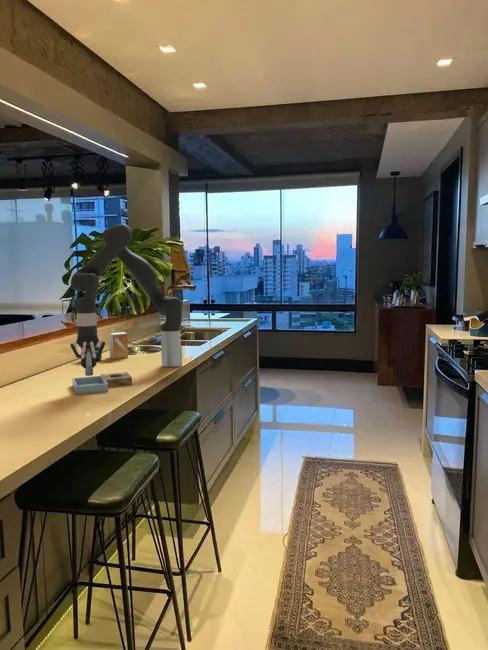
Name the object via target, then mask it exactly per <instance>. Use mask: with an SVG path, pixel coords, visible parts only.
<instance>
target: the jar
mask: <svg viewBox="0 0 488 650" xmlns="http://www.w3.org/2000/svg"><path fill="white" fill-rule="evenodd" d="M99 347H100V346H99V344H97V345H96V346H95V348H94V349H95V354H96V353H97V352H98V350H99ZM102 353H103V352H102ZM102 353H101V355H100V356H98V357H96V363H97V362H101V360H102V357H103V354H102ZM92 358H93V356H92Z"/></svg>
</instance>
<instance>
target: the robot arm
mask: <svg viewBox="0 0 488 650" xmlns="http://www.w3.org/2000/svg"><path fill="white" fill-rule="evenodd" d="M132 232H133V231H132V229H131V228H130V226H128V225H127V224H126V223H118V224H116V225H113V226H110V227H108V228H106V229H104V230H103V233H102V238H103V241H104V243H105V245H104V246H103V247H101V248H100V249H99V250H97V251H96V252H95V253H94V255H93V254H92V256H91V258H90V259H89V261H88V262H87V263H86V264H85V265H84V266H82V267H81V268H80V269H78V270H76V272H74V273H73V274H72V277H71V279H70V286H71V288H72V289H73V290H75V291H76V292H85V294H84V296H82V297H79V298H78V299H76V333H77V334H76V336H77V338H76V340H75V342H71V343H70V344H69V345H70V348H71V349H72V352H73V353H74V355H75V357H76V358H78V359H80V365H81V367H82V368H83V369H85V358H84V356H85V350H92V356H93V358H92V361H93V368H96V366H97V362H96V357H98V356H100V355H101V353H103V351H104V348H105V346H106V342H105V341H103V340H100V339H99V338H98V321H97V311H96V309H97V308H96V300H97V297H98V292H99V286H100V281H99V278H100V277H101V276H102V275H103V273H104V272H105V271H106V270H107V268H108V266H109V265H110V264H111V263H112V262H113V260H114V259H115V257H117V258H118V259H119V261H121V262H122V264H123V265H124V266H125V267H126V269H127V270H128V271H129V273H130V274H131V275H132V277H133V278H134V279H135V281H136V282H137V283H138V284H139V285H140V287H141V288H142V289H143V291H144V292H145V293H146V295H147V296H148V297H149V299H150V301H151V302H152V304H153V305H154V307H155V308H156V309H155V310H157V312H158V314H160V315H162V316H165V321H164V323H162V324H161V326H160V343H161V344H160V346H161V347H160V348H161V349H160V350H161V353H160V354H161V367H165V368H177V367H181V366H183V346H182V345H181V325H182V323H183V320H182V319H183V306H182V302H181V300H180V298H177V297H175V296H174V297H173V296H167V295H166V294H165V293H164V291H163V290H162V289H161V286H160V284H159V279H158V275H157V272H156V271H155V269H154V268H153V267H152V265H151V264H150V263H149V261H148V260H146V259H144V258H143V257H141V256H140V255H137V254H136V253H135V252H132V251H131V250H130V249H129V248H128V247H127V246H128V245H129V244H130V243H131V241H132V239H133V233H132ZM77 345H78V346H79V348H80V349H81V350H80V353H79V351H77V349H76V348H78V346H77ZM96 345H99V346H100V347H99V350H98V352H97V353H96V354H95V349H94V348H95V346H96Z"/></svg>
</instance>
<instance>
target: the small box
mask: <svg viewBox="0 0 488 650" xmlns="http://www.w3.org/2000/svg"><path fill="white" fill-rule="evenodd" d="M108 341H109V343H108V344H109V345H108V346H109V358H110V359H113V360H118V359H128V358H129V342H128V341H129V338H128V333H127V332H124V331H122V332H111V333H108Z"/></svg>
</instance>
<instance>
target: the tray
mask: <svg viewBox="0 0 488 650" xmlns="http://www.w3.org/2000/svg"><path fill="white" fill-rule="evenodd" d="M72 387H73V391H74V394H75V396H78V395H86V394H88V395H89V394H99V393H107V392H109V387H108V383H107V382H106V380H105V378H104V379H103V377H102V376H101V375H97V376H93V375H92V376H83V377H82V376H81V377H73V378H72Z"/></svg>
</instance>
